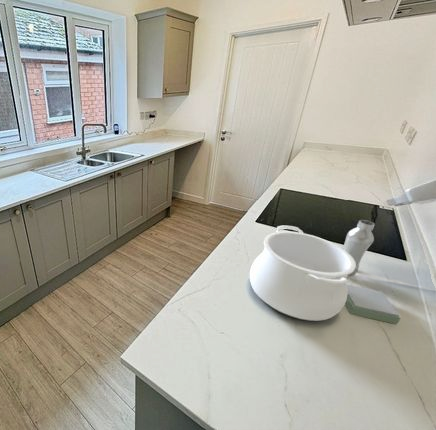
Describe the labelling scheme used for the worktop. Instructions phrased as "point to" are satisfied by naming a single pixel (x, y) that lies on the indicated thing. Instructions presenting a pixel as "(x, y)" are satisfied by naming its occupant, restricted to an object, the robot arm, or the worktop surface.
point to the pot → (302, 275)
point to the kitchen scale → (370, 304)
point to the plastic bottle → (359, 241)
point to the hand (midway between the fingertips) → (390, 203)
